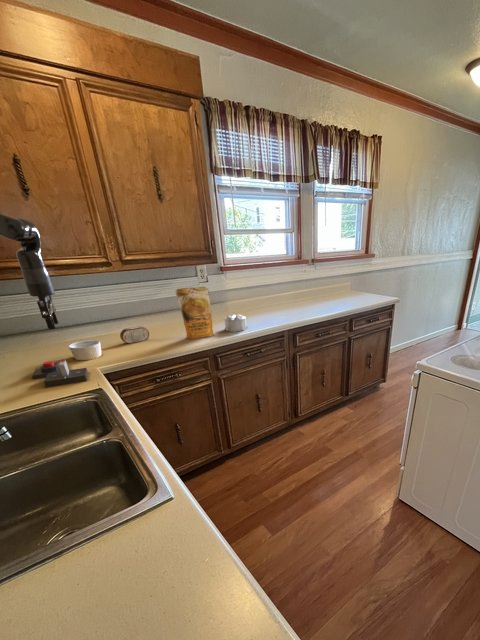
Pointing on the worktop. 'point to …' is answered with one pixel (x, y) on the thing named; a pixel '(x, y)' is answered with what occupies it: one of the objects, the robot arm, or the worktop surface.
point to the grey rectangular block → (64, 368)
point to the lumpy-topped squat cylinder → (235, 323)
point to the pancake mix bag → (196, 311)
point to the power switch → (46, 371)
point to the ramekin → (86, 350)
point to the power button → (48, 364)
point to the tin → (134, 334)
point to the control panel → (66, 377)
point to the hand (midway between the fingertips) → (53, 326)
